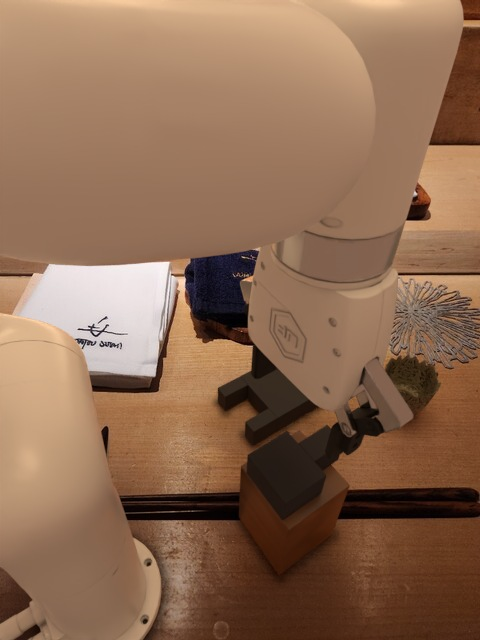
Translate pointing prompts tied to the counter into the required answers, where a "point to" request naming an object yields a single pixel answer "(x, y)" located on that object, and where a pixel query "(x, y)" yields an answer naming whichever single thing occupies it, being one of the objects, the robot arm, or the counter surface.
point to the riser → (291, 518)
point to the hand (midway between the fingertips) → (301, 407)
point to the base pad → (266, 402)
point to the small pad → (290, 470)
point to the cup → (413, 381)
